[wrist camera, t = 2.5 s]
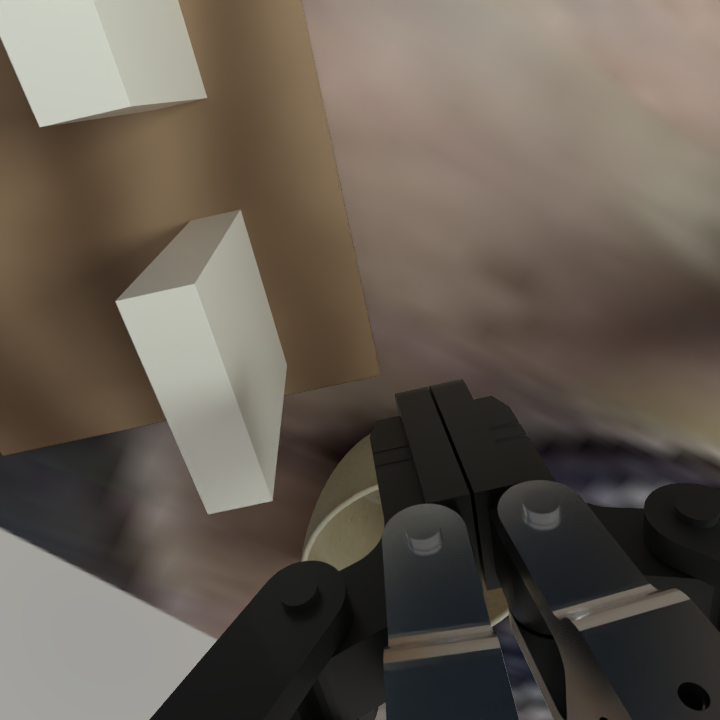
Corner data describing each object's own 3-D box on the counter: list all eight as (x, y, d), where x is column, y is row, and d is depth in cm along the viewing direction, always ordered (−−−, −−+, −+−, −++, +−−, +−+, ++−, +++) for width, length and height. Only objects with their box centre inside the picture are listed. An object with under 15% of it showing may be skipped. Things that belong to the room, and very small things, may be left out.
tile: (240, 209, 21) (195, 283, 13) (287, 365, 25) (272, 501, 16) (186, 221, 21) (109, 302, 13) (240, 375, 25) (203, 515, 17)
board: (250, -239, 17) (246, -258, 16) (378, 365, 26) (380, 375, 25) (-314, -101, 17) (-349, -111, 16) (13, 443, 26) (2, 455, 26)
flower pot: (266, 487, 29) (252, 602, 22) (380, 344, 26) (401, 430, 19) (414, 560, 32) (438, 679, 26) (532, 441, 29) (594, 543, 22)
